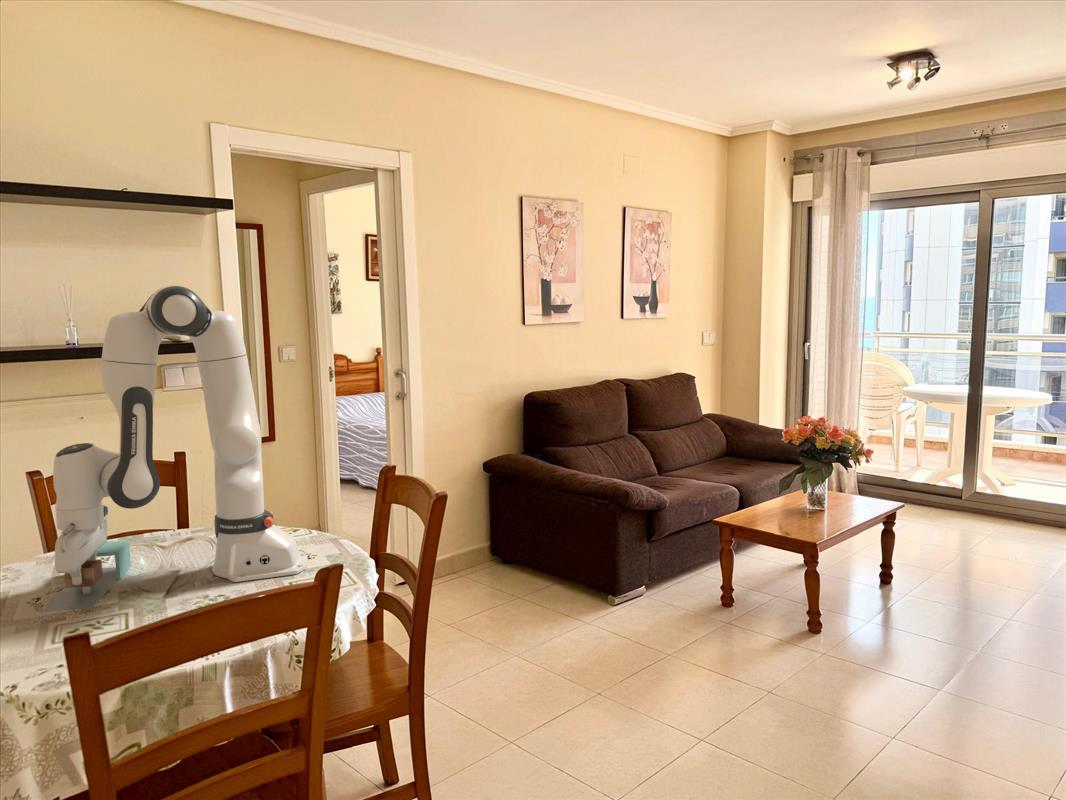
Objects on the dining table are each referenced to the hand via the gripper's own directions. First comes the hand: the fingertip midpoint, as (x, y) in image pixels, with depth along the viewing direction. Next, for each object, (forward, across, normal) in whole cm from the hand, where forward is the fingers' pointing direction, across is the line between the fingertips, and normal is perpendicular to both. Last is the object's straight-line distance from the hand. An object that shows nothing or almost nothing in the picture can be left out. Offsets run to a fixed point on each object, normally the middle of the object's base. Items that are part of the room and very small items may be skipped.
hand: (84, 577), depth 167 cm
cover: (+3, +11, 0) cm, 11 cm away
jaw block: (+1, 0, 0) cm, 1 cm away
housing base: (+5, +3, +1) cm, 6 cm away
